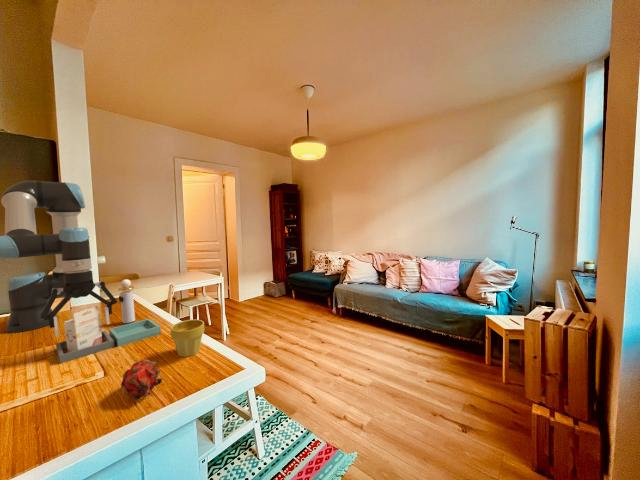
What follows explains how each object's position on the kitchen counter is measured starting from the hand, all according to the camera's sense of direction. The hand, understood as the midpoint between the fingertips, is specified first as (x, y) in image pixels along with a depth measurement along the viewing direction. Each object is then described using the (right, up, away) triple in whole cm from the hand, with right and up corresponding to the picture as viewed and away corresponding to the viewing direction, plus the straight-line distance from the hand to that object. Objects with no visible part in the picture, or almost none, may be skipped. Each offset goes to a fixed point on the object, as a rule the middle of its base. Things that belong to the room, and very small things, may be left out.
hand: (83, 329), depth 94 cm
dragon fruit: (+38, -9, -24) cm, 46 cm away
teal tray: (+11, -6, +11) cm, 17 cm away
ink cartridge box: (0, -7, +1) cm, 7 cm away
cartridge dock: (0, -7, +1) cm, 7 cm away
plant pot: (+40, -7, -4) cm, 41 cm away
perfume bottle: (-2, -6, +25) cm, 25 cm away
